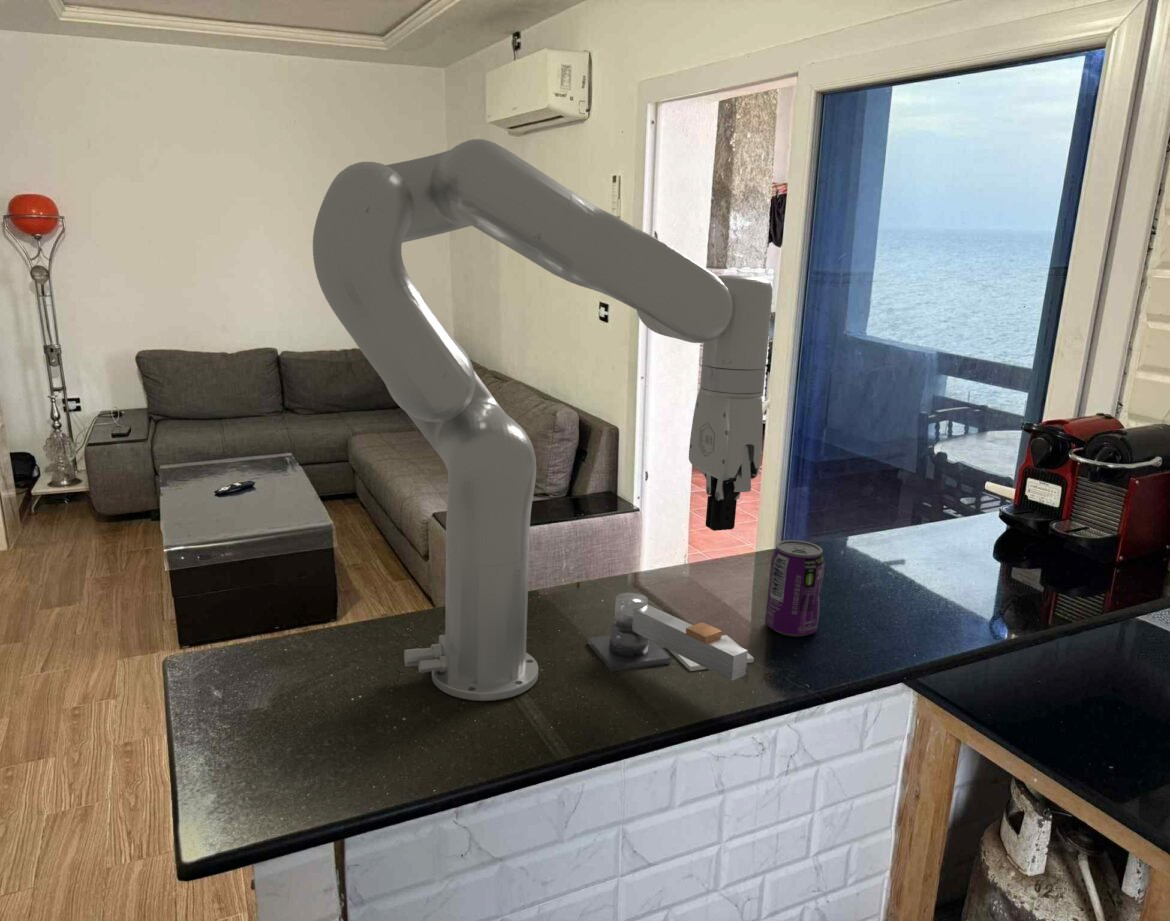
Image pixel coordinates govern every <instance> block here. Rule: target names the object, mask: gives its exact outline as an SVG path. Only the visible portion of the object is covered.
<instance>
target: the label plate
mask: <svg viewBox="0 0 1170 921" xmlns="http://www.w3.org/2000/svg"><path fill="white" fill-rule="evenodd" d="M721 638H722V639H724V640H726V641H728V642H730V643H733V644H735V645H737V646H739V647H741V646H740V645H739V644H738V643H737V642H736V641H734V640H733V639H732V638H731V637H730V636H728V635H727V634H722V636H721ZM667 650H668V651H669V652H670V653H671V654H672V655H673V656H674V657H675V658H676V659H677V660H678V661H679V662H681V664H683V666H685V668H686V669H687V670H689V672H692V671H700V670H708V669H707V668H705V667H703V666H701V665H699V664H697V663H695V662H693V661H691V660H689V659H687V658H685V657H683V656H681V655H679V654H677V653H675V652H673V651H671V650H669V649H667ZM754 661H755V658H754V657H753V656H752V655H751V654H750V653H749V652H747V663H746V664H750V663H754Z"/></svg>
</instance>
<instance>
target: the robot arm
mask: <svg viewBox="0 0 1170 921" xmlns="http://www.w3.org/2000/svg"><path fill="white" fill-rule="evenodd" d="M468 227H473V228H475V229H477V230H478V231H481V233H483V234H486V235H487V236H489V237H490V238H492V239H493V240H495V241H497V242H498V243H500V244H502V245H504V246H506V247H507V248H509V249H511V250H512V251H515V252H516V253H518V254H519V255H521V256H522V257H524V258H526V259H528V260H529V261H531V262H532V263H534V264H536V265H538V266H539V267H541V268H542V269H543V270H546V271H547V272H548V273H551V274H552V275H554V276H556V277H558V278H560V279H563V280H565V281H566V282H569V283H571V284H574V285H577V286H579V287H583V288H586V289H589V290H592V291H595V292H599V293H601V294H604V295H606V296H608V297H610V298H613V299H614V300H616V301H619V302H620V303H623V304H625V305H626V306H628V307H631V308H632V309H634V310H636V313H637V315H638V317H639V320H640V321H641V322H642V323H643V325H645V326H646V328H647V329H649V330H651V331H652V332H653V333H656V334H659V335H661V336H665V337H668V338H672V339H677V340H680V341H684V342H688V343H692V344H703V346H702V354H701V356H702V358H701V369H700V370H701V372H700V382H699V383H700V384H699V385H700V386H699V390H698V394H697V397H696V401H695V405H694V410H693V416H692V422H691V423H692V424H691V431H690V437H689V438H690V439H689V448H688V461H689V463H690V464H691V465H692V466H693V467H694V468H696V469H698V470H699V472H701V474H702V475H703V476H704V478H705V493H706V495H707V502H706V514H705V526H706V527H707V528H708V529H710V530H712V531H713V532H717V531H728V530H729V531H730V530H733V529H734V528H735V525H736V524H735V523H736V513H737V503H738V500H739V499H740V496H741V493H748V492H751V490H752V481H751V480H753V479H755V478H757V477H758V475H759V472H760V470H761V469H760V467H761V460H762V452H763V432H764V431H763V428H764V426H763V425H764V424H763V423H764V420H763V418H764V417H763V416H764V415H763V414H764V411H763V396H764V389H765V387H764V386H765V379H766V378H765V377H766V367H767V360H768V359H767V355H768V347H769V345H768V344H769V336H770V324H771V316H772V315H771V314H772V306H773V305H772V303H773V290H774V289H773V285H772V283H771V282H770V281H769V280H768V279H767V278H765V277H760V276H750V275H732V274H731V275H730V274H729V275H727V274H725V275H723V274H722V275H718V276H717V275H716V274H714V273H713V272H711V271H710V270H708V269H707V268H706V267H704V266H702V265H701V264H700V263H697V262H696V261H694V260H693V259H691V258H690V257H688V256H687V255H686V254H683V253H682V252H681V251H679V250H677V249H676V248H674V247H672V246H670V245H669V244H668V243H665V242H664V241H662V240H660V239H659V238H656V237H654V236H652V235H650V234H648V233H646V231H645V232H644V231H642V230H641V229H639V228H636V227H635V226H634V225H631V224H629V223H628V222H627V221H624V220H622V218H619V217H618V216H616V215H614V214H612V213H610V212H608V211H606V210H604V209H602V208H599V207H598V206H596V205H595V204H593V203H591V202H590V201H588V200H587V199H586V198H584V197H581V195H578V194H577V193H576V192H574V191H572V190H571V189H569V188H567V187H565V186H564V185H563V184H561V183H560V182H558V181H556V180H555V179H553V178H552V177H550V176H549V175H547V174H545V173H544V172H542V171H541V170H539V168H536V167H535V166H533V165H532V164H530V163H528V162H527V161H526V160H524V159H522V158H521V157H520V156H518V155H517V154H514V153H513V152H512V151H510V150H509V149H506V148H505V147H503V146H501V145H499V144H497V143H496V142H493V141H490V140H487V139H483V138H482V139H480V138H474V139H470V140H466V141H462V142H461V143H459V144H457V145H455V146H454V147H453V148H451V149H448V150H446V151H442V152H439V153H435V154H431V155H428V156H427V155H426V156H423V157H419V158H414V159H410V160H405V161H399V162H395V163H390V164H383V163H381V162H375V161H360V162H359V161H358V162H356V163H353V164H350V165H348V166H346V167H345V168H344V169H342V170H341V171H340V172H339V173H338V174H337V175H336V176H335V177H334V178H333V180H332V182H331V183H330V185H329V188H328V189H327V191H326V193H325V195H324V197H323V200H322V202H321V205H320V207H319V210H318V214H317V216H316V220H315V225H314V228H313V236H312V258H313V265H314V270H315V274H316V277H317V281H318V284H319V286H320V289H321V292H322V294H323V295H324V298H325V300H326V302H327V303H328V305H329V307H330V308H331V310H332V312H333V313H334V315H335V316H336V318H337V319H338V320H339V322H340V324H342V326H343V327H344V329H345V330H346V332H347V333H348V334H349V335H350V337H351V339H352V340H353V341H354V343H355V344H356V346H357V347H358V348H359V350H360V351H361V352H362V354H363V356H364V357H365V358H366V359H367V361H368V362H369V364H370V365H371V366H372V367H373V368H374V371H376V373H377V375H378V376H379V377H380V378H381V381H383V383H384V385H385V387H386V389H387V390H388V393H389V394H390V397H391V398H392V399H393V401H394V402H395V403H396V404H397V405H398V406H399V407H400V408H401V409H402V410H403V411H404V412H405V413H406V414H407V415H408V417H409V418H410V420H412V422H413V423H414V424H415V426H416V427H417V429H418V430H419V431H420V432H421V434H422V435H423V436H424V438H425V439H426V440H427V441H428V443H429V444H430V446H431V447H432V448H433V449H434V451H435V452H436V453H437V455H438V456H439V457H440V459H441V460H442V461H443V463H444V465H445V468H446V469H447V478H448V480H447V481H448V485H447V486H448V487H447V488H448V489H447V505H446V516H445V518H446V522H445V609H444V610H445V611H444V612H445V615H444V616H445V617H444V618H445V623H444V624H445V625H444V626H445V632H444V633H445V634H440V635H439V636H438V643H433V644H431V645H430V647H426V648H420V647H418V648H412V649H411V648H409V649H404V650H403V651H404V652H403V660H404V666H405V667H413V666H417V667H418V672H419V674H424V673H429V672H431V681H432V682H433V684H434V685H435V687H437V689H439V690H440V691H442V692H444V693H445V694H448V695H449V696H452V697H455V698H458V699H464V700H468V701H469V700H470V701H481V702H487V701H498V700H505V699H509V698H512V697H515V696H518V695H521V694H523V693H525V692H526V691H529V689H530V688H532V687H533V686H534V685H535V684H536V682H537V681H538V678H539V665H538V664H539V663H538V662H537V660H536V659H535V658H534V657H533V656H532V655H531V654H529V653H528V652H527V626H528V600H529V599H528V597H529V596H528V595H529V570H530V569H529V567H530V563H529V562H530V530H531V518H532V516H531V514H532V507H533V506H532V505H533V500H534V494H535V493H534V492H535V486H536V479H537V458H536V453H535V449H534V446H533V443H532V441H531V439H530V437H529V436H528V434H527V432H526V431H525V430H524V428H523V427H522V426H521V425H520V424H519V423H518V422H516V421H515V420H514V419H513V418H512V417H510V416H509V415H508V414H507V413H506V412H505V410H504V409H503V408H502V407H501V406H500V404H499V403H498V402H497V401H496V398H495V397H494V396H493V395H492V393H491V392H490V390H489V389H488V388H487V386H486V384H485V383H484V382H483V380H482V379H481V378H480V377H479V375H478V373H477V372H476V371H475V370H474V366H473V364H472V362H471V361H472V360H471V359H470V357H469V355H468V354H467V352H466V350H465V349H464V348H463V346H462V345H460V344H459V343H458V342H457V341H456V340H455V339H454V338H453V336H452V335H451V334H450V333H449V332H448V330H447V329H446V328H445V326H444V325H443V324H442V323H441V321H440V319H439V318H438V317H437V315H436V314H435V313H434V311H433V310H432V309H431V307H430V306H429V304H428V303H427V301H426V300H425V298H424V296H423V295H422V293H421V292H420V290H419V289H418V287H417V286H416V285H415V282H413V280H412V278H411V277H410V276H409V273H408V271H407V269H406V266H405V264H404V261H403V256H402V244H403V243H406V242H412V241H416V240H420V239H424V238H430V237H433V236H436V235H437V236H438V235H442V234H447V233H449V232H453V231H457V230H461V229H464V228H468Z"/></svg>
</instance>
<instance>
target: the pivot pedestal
mask: <svg viewBox="0 0 1170 921" xmlns="http://www.w3.org/2000/svg"><path fill="white" fill-rule="evenodd" d="M587 644H588V645H589V647H590V648H591V649H592V651H594V653H595V654H596V655H597V656H598V657H599V659H601V661H602V663H603V664H604V665H605V666H606V667H607V669H608V670H609V671H610V672H611V673H612V672H618V671H625V670H632V669H634V670H635V669H639V668H649V667H654V666H655V667H657V666H663V665H669V664H671V656H670V655H669V654H668V653H667V652H666V651H665V650H663V647H662V646H661V645H659V644H657V643H655V642H653V641H651V640H649V639H647V638H645V637H643V636H641V635H639V634H637V633H635V632H633V631H625V630H622V629H619V628H617V627H616V626H615V624H614V622H612V623H611V624H610V628H609V635H603V636H594V637H593V636H592V637H588V639H587Z"/></svg>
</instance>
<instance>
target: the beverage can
mask: <svg viewBox="0 0 1170 921" xmlns="http://www.w3.org/2000/svg"><path fill="white" fill-rule="evenodd" d="M823 550H824V549H823V548H822V547H821V546H819V545H818V544H816V543H812V542H809V541H803V540H796V539H794V540H792V539H788V540H787V539H786V540H781V541H778V542H777V543H776V546H775V550H774V552H773V554H772V555H771V560H770V568H769V569H770V570H769V579H768V588H767V589H768V590H767V599H766V600H767V601H766V607H765V608H766V609H765V619H764V623H765V624H766V625H767V627H769V628H770V629H772V630H774V631H775V632H776V633H778V634H780V635H784V636H787V637H794V638H795V637H797V638H799V637H803V636H804V637H805V636H807V635H810V634H811V635H812V634H814V633H816V632H817V630H818V624H819V616H820V609H821V608H820V607H821V599H822V592H823V591H822V590H823V582H824V581H823V580H824V573H825V565H826V564H825V560H824V558H823V552H824V551H823Z"/></svg>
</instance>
